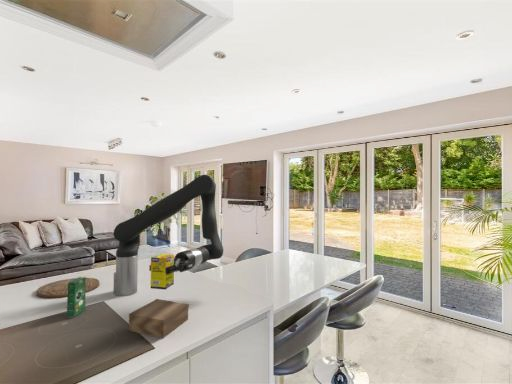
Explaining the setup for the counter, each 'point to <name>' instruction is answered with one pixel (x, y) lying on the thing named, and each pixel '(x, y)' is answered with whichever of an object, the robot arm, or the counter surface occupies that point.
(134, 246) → the robot arm
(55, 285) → the trivet
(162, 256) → the supplement box
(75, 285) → the coffee box
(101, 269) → the counter surface
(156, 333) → the walnut riser block
